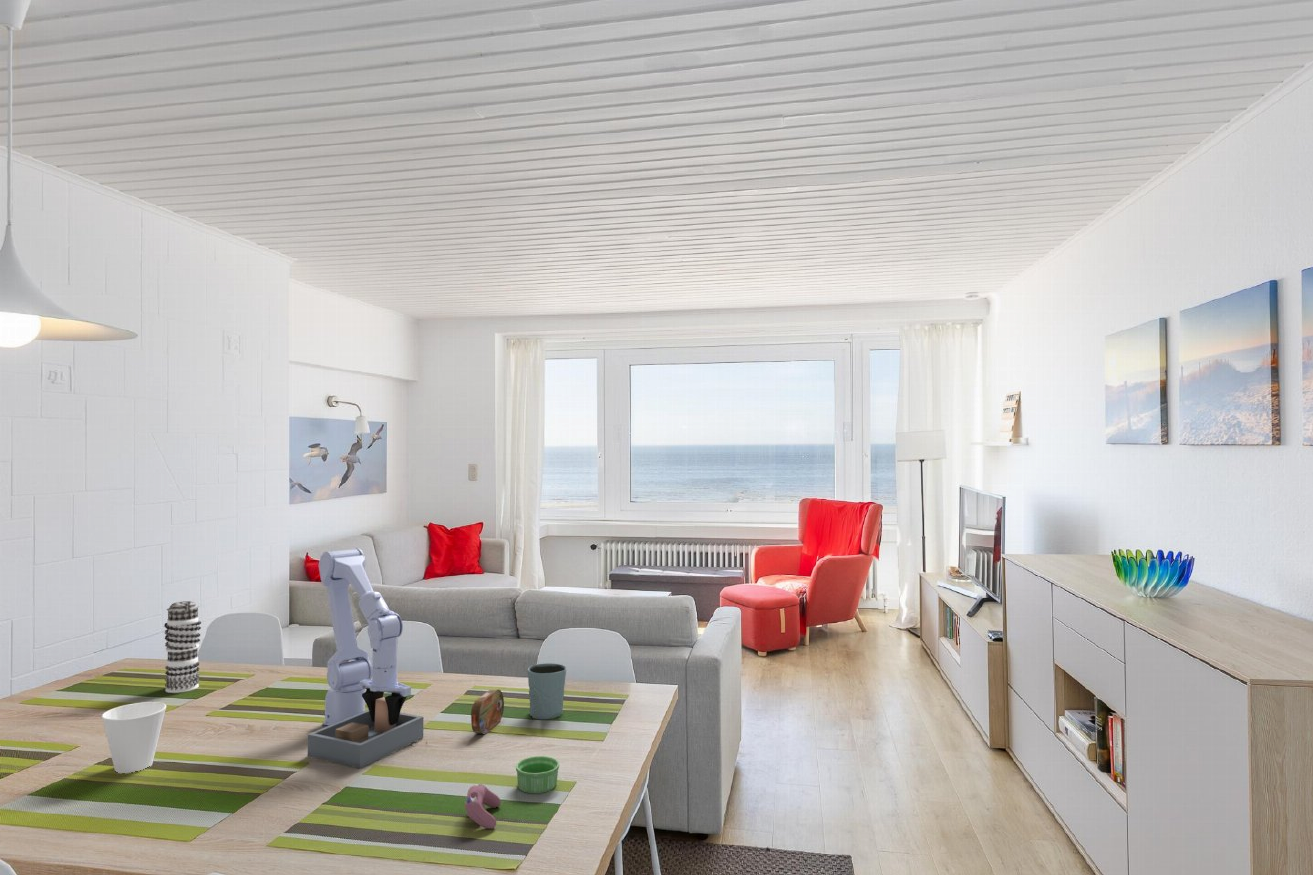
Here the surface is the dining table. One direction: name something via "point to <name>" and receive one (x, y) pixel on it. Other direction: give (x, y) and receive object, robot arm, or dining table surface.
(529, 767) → the ramekin
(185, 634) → the decorative candle
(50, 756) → the dining table surface
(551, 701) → the grey plant pot
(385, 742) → the tote
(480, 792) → the video game controller
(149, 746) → the cup
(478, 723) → the tin
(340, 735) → the cube
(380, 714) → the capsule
